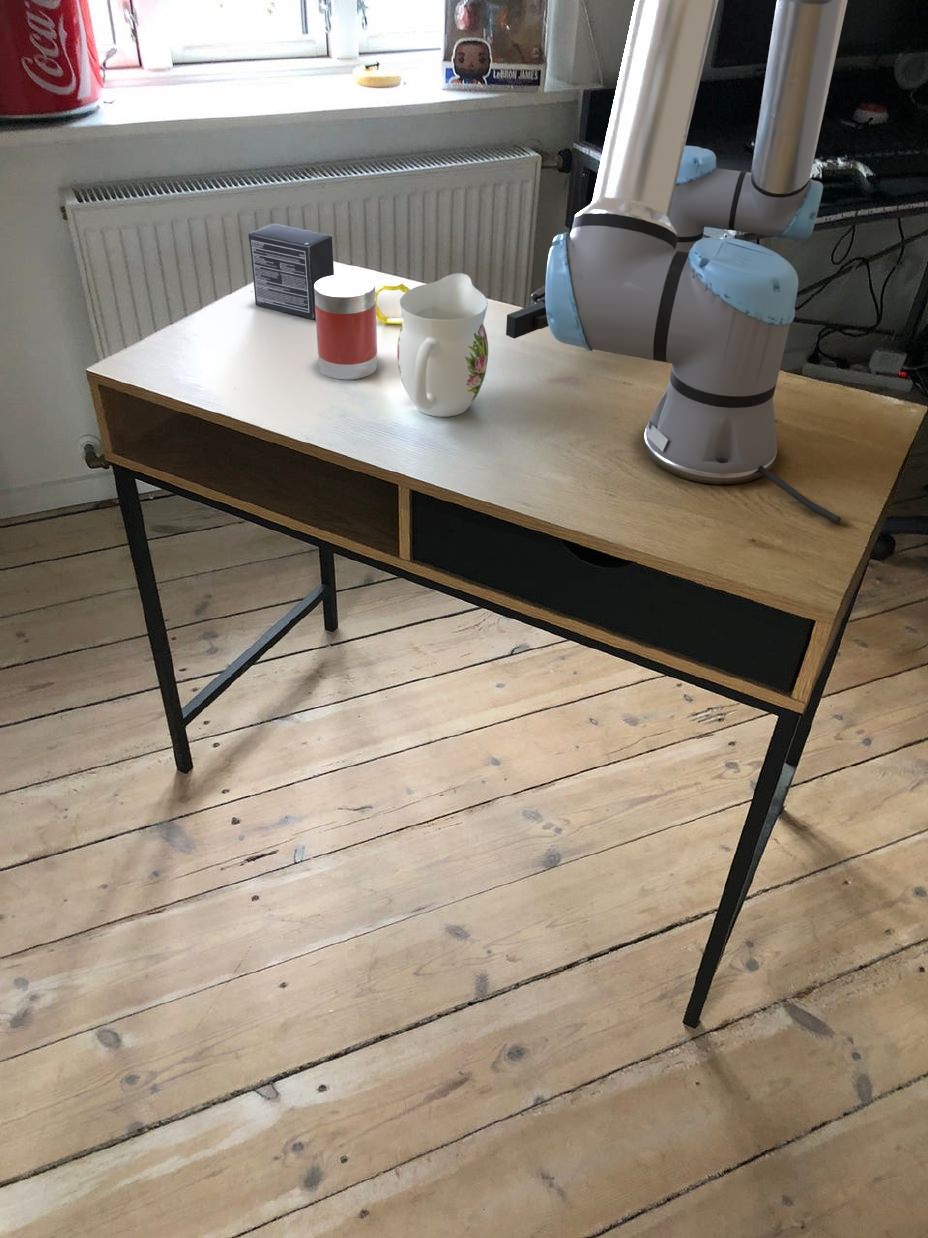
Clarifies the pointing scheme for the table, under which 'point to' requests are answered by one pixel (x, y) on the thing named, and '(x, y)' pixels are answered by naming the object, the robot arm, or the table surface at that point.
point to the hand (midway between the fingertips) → (510, 326)
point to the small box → (289, 267)
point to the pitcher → (443, 345)
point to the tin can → (346, 326)
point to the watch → (390, 285)
